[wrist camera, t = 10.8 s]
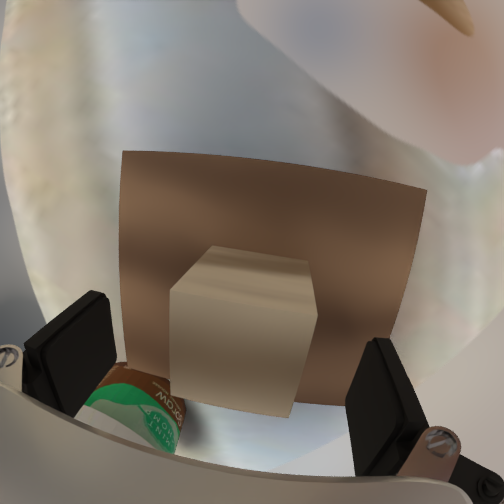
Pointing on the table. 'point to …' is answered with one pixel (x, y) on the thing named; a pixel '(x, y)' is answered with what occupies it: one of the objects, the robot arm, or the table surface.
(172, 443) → the food container
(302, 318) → the birch block
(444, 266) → the table surface
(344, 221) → the walnut box
